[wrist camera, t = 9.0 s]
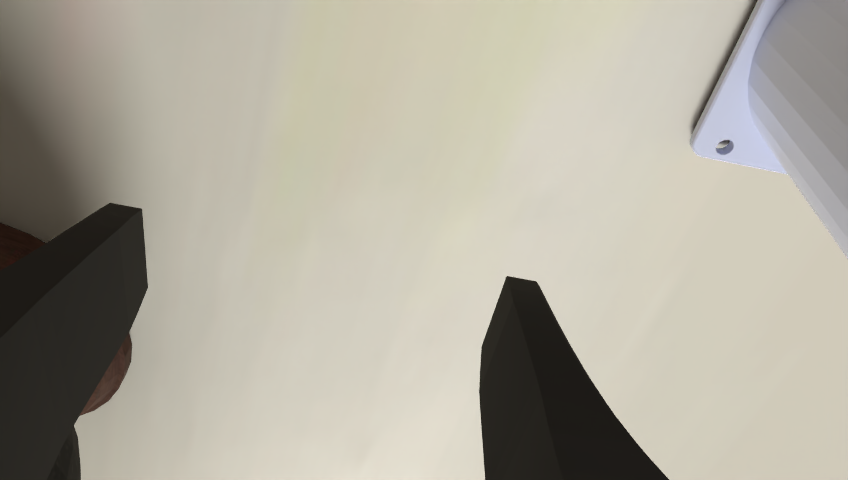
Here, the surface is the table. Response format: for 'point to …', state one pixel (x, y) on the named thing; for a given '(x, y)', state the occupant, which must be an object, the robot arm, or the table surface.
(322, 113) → the table surface
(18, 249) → the black ball on stand
